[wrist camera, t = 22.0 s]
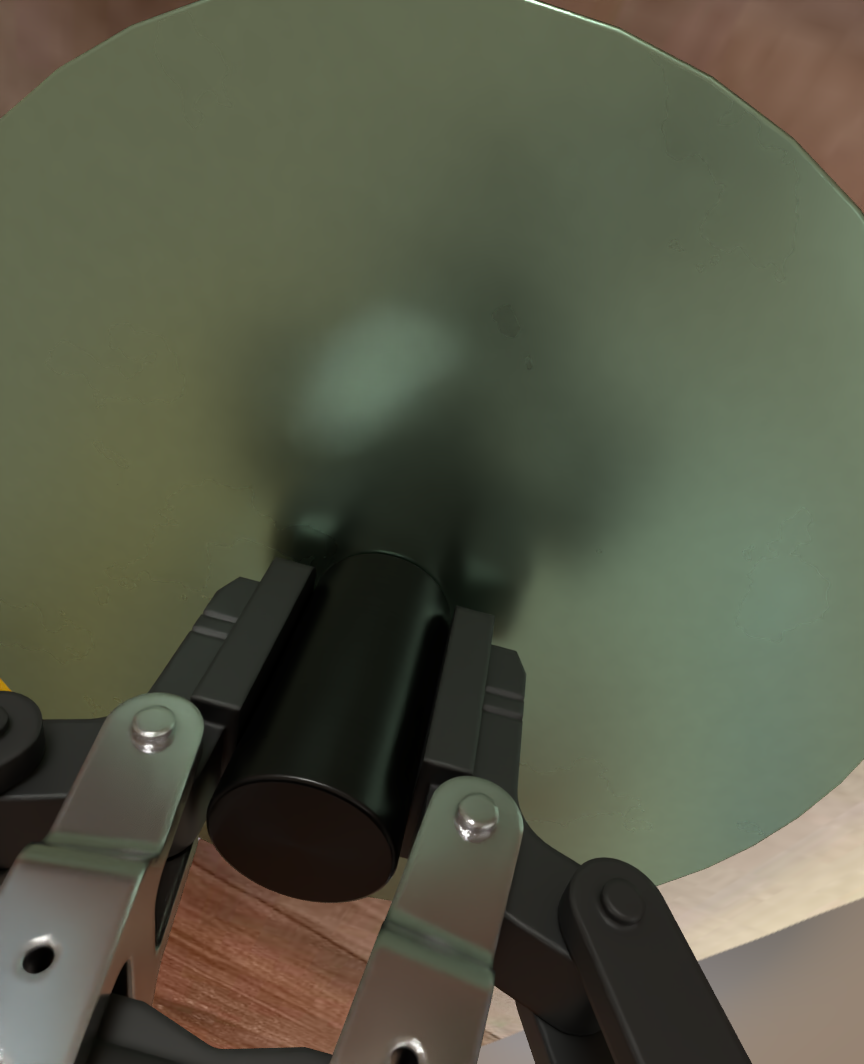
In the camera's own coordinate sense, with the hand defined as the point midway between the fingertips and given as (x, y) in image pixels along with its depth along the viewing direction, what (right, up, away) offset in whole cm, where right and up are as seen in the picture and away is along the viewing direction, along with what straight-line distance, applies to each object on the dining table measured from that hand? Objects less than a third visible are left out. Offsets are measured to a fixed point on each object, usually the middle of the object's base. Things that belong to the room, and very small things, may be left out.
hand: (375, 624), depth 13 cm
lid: (0, +1, +1) cm, 1 cm away
